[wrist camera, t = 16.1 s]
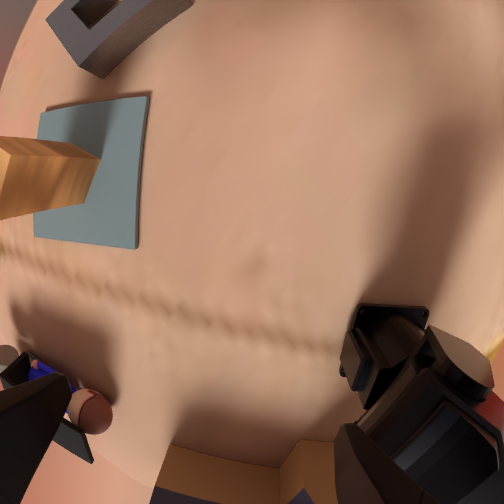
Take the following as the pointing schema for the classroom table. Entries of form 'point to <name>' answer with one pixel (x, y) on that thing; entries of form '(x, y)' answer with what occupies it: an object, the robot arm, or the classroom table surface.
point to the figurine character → (79, 409)
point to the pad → (99, 172)
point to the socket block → (109, 28)
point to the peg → (42, 175)
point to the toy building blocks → (248, 478)
